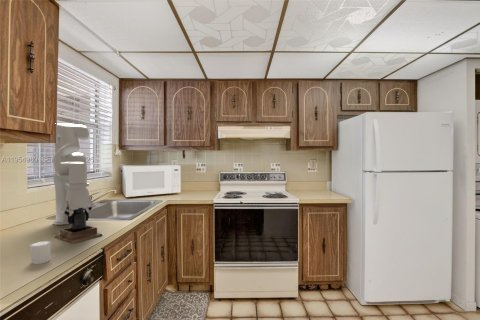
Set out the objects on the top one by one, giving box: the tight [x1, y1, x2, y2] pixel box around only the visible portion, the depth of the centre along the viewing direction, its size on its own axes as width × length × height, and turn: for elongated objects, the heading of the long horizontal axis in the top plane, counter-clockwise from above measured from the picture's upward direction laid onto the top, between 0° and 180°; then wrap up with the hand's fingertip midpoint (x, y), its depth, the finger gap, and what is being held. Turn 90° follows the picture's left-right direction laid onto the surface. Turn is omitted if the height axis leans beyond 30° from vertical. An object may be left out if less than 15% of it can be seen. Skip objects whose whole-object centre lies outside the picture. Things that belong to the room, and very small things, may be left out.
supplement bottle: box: [70, 208, 87, 233], centre depth 135 cm, size 7×7×12 cm
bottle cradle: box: [54, 224, 103, 244], centre depth 135 cm, size 18×14×4 cm
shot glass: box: [28, 240, 52, 265], centre depth 104 cm, size 7×7×7 cm
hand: (78, 221), depth 135 cm, fingers closed on supplement bottle, 6 cm apart
